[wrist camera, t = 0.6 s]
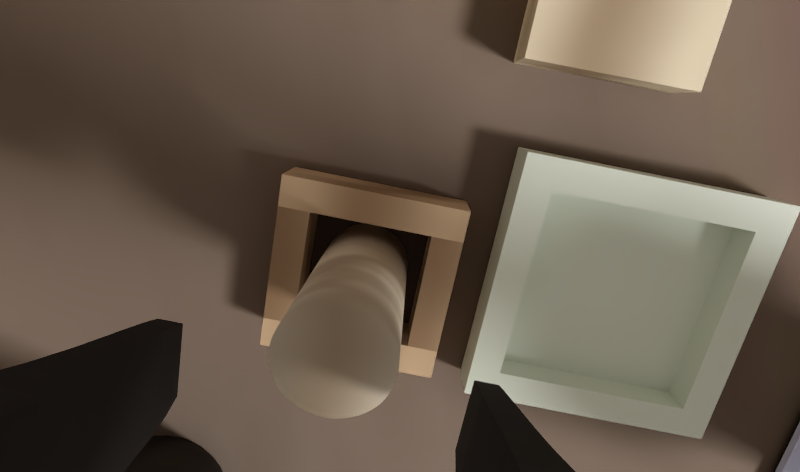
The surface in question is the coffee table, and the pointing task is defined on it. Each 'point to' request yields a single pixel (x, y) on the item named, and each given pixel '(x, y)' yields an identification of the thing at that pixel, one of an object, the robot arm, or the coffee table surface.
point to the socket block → (374, 206)
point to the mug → (172, 457)
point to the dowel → (344, 327)
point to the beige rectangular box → (625, 40)
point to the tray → (621, 291)
